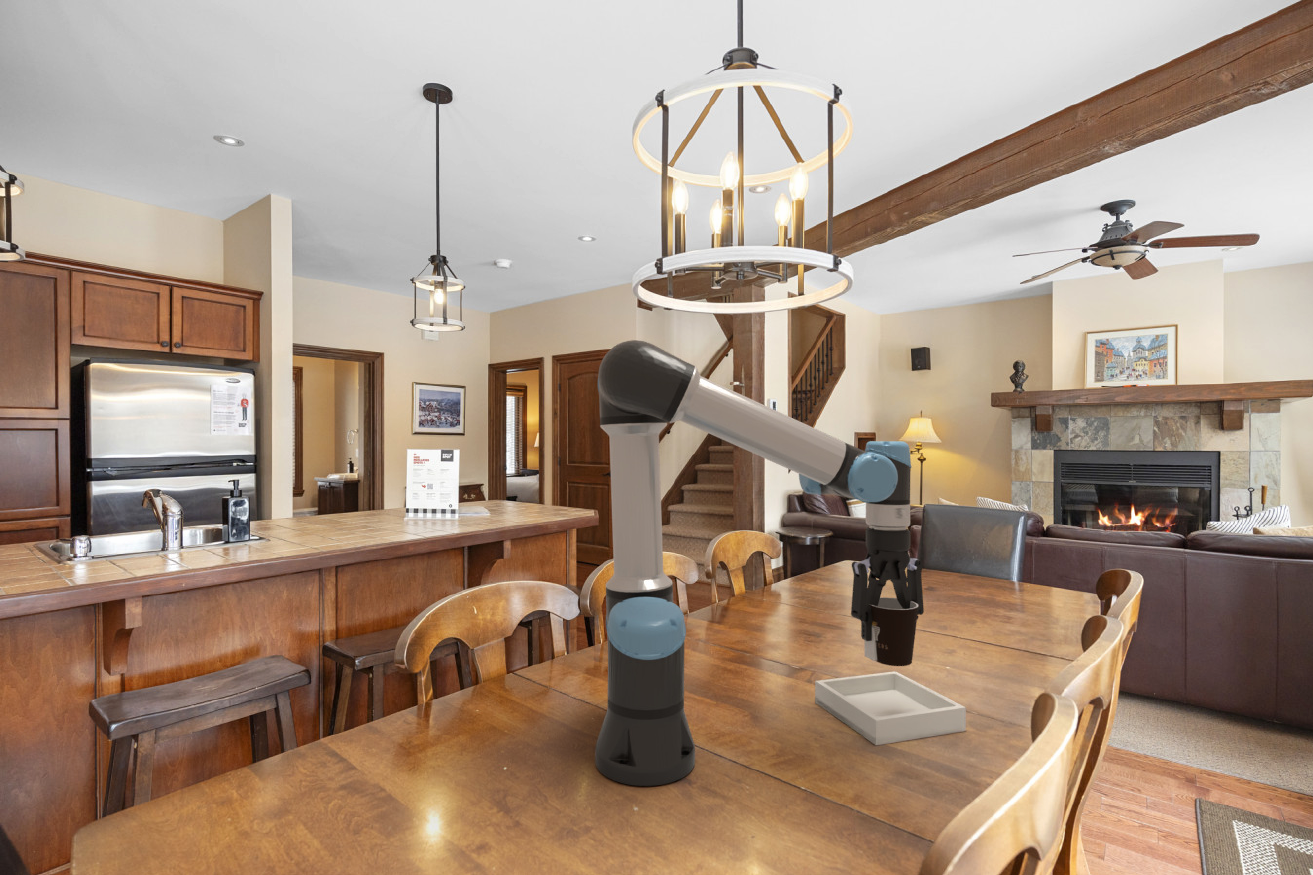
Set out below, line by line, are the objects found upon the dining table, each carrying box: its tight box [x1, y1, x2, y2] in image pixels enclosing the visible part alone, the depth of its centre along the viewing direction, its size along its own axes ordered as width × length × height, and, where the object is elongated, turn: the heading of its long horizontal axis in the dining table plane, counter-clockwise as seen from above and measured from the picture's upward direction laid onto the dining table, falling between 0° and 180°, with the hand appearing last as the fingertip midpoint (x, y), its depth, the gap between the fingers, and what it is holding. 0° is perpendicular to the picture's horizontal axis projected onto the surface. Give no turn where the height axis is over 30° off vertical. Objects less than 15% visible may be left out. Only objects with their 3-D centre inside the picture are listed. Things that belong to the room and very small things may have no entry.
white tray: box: [814, 670, 967, 746], centre depth 115 cm, size 18×18×4 cm
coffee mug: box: [869, 596, 919, 667], centre depth 115 cm, size 12×9×10 cm
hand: (887, 656), depth 115 cm, fingers closed on coffee mug, 6 cm apart
